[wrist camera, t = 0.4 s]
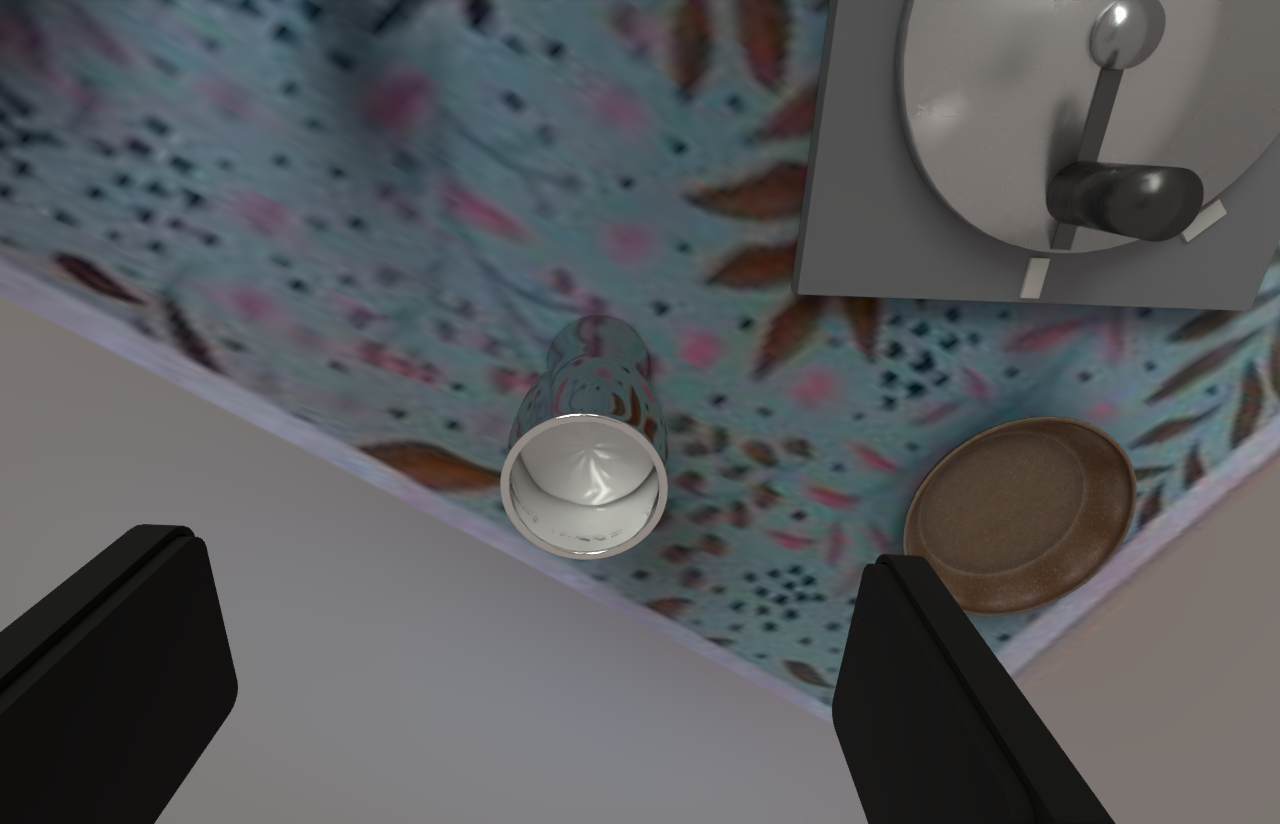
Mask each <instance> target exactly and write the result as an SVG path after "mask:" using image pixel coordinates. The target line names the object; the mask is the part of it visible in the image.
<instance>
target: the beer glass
mask: <svg viewBox="0 0 1280 824" xmlns="http://www.w3.org/2000/svg"><path fill="white" fill-rule="evenodd" d="M648 372H649V357H648V353H647V349H646V347H645V345H644V343H643V341H642V339H641V338H640V336H639V335H638V334H637V333H636V332H635V331H634V330H633V329H632V328H631V327H630V326H628V325H627V324H625V323H623V322H622V321H620V320H617V319H615V318H611V317H607V316H588V317H584V318H580V319H578V320H575V321H573V322H572V323H570V324H568V325H567V326H566V327H564V328H563V329H562V330H561V331H560V332H559V333H558V334H557V336H556V337H555V338H554V340H553V342H552V344H551V346H550V349H549V352H548V357H547V370H546V371H545V372H544V373H543V374H542V375H541V376H540V377H539V378H538V380H537V381H536V382H535V383H534V385H533V386H532V387H531V389H530V390H529V391H528V393H527V394H526V396H525V398H524V399H523V401H522V404H521V406H520V408H519V410H518V412H517V414H516V417H515V420H514V423H513V426H512V429H511V433H510V436H509V441H508V446H507V451H506V456H505V462H504V464H503V468H502V472H501V479H500V490H501V497H502V502H503V505H504V508H505V510H506V513H507V515H508V517H509V518H510V520H511V522H512V523H513V525H514V526H515V527H516V528H517V530H518V531H519V532H520V533H521V534H522V535H523V536H524V537H525V538H527V539H528V540H529V541H530V542H532V543H533V544H535V545H536V546H538V547H540V548H541V549H543V550H545V551H547V552H550V553H552V554H555V555H558V556H562V557H566V558H572V559H583V560H589V559H600V558H606V557H610V556H613V555H616V554H619V553H622V552H624V551H626V550H628V549H630V548H632V547H633V546H635V545H636V544H638V543H639V542H641V541H642V540H643V539H644V538H645V537H646V536H647V535H649V533H650V532H651V531H652V530H653V529H654V528H655V526H656V525H657V523H658V522H659V520H660V518H661V516H662V514H663V512H664V509H665V506H666V502H667V497H668V478H667V476H668V442H667V432H666V427H665V422H664V418H663V414H662V410H661V408H660V405H659V403H658V401H657V399H656V396H655V394H654V392H653V390H652V389H651V387H650V385H649V384H648V382H647V381H646V380H647V377H648Z"/></svg>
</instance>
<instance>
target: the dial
mask: <svg viewBox="0 0 1280 824" xmlns="http://www.w3.org/2000/svg"><path fill="white" fill-rule="evenodd" d="M896 94H897V103H898V111H899V117H900V121H901V125H902V129H903V133H904V137H905V141H906V144H907V146H908V149H909V151H910V153H911V156H912V158H913V161H914V163H915V166H916V167H917V169H918V171H919V172H920V174H921V176H922V177H923V179H924V181H925V182H926V184H927V186H928V187H929V188H930V190H931V191H932V192H933V193H934V195H935V196H936V197H937V198H938V199H939V201H940V202H941V203H942V204H943V205H944V206H945V207H946V208H947V209H948V210H949V211H950V212H952V213H953V214H954V215H955V216H956V217H957V218H958V219H959V220H961V221H962V222H964V223H966V224H967V225H969V226H970V227H972V228H973V229H975V230H977V231H978V232H980V233H982V234H985V235H987V236H989V237H992V238H994V239H996V240H999V241H1001V242H1005V243H1008V244H1012V245H1015V246H1019V247H1023V248H1027V249H1031V250H1035V251H1043V252H1052V253H1083V252H1090V251H1096V250H1102V249H1109V248H1112V247H1116V246H1119V245H1123V244H1126V243H1130V242H1134V241H1136V240H1139V239H1141V240H1146V241H1151V242H1160V241H1165V240H1168V239H1171V238H1173V237H1175V236H1177V235H1179V234H1180V233H1182V232H1183V231H1184V230H1185V229H1187V228H1188V227H1189V226H1190V224H1191V223H1192V222H1193V221H1194V220H1195V218H1196V217H1197V215H1198V213H1199V211H1200V209H1201V207H1202V206H1203V205H1205V204H1206V203H1208V202H1209V201H1211V200H1212V199H1213V198H1214V197H1216V196H1217V195H1218V194H1219V193H1220V192H1222V191H1223V190H1224V189H1225V188H1227V187H1228V186H1229V185H1230V184H1231V183H1233V182H1234V181H1235V180H1236V179H1237V178H1238V177H1239V176H1240V175H1241V174H1242V173H1243V172H1244V171H1245V170H1246V169H1247V168H1248V167H1249V166H1250V165H1251V164H1252V163H1253V162H1254V161H1255V160H1257V159H1258V157H1259V156H1260V155H1261V154H1262V153H1263V152H1264V150H1265V149H1266V148H1267V147H1268V146H1269V144H1270V143H1271V142H1272V141H1273V140H1274V139H1275V137H1276V136H1277V135H1278V134H1279V133H1280V0H905V4H904V8H903V13H902V17H901V21H900V26H899V34H898V42H897V51H896Z"/></svg>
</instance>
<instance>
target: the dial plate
mask: <svg viewBox="0 0 1280 824" xmlns="http://www.w3.org/2000/svg"><path fill="white" fill-rule="evenodd" d="M904 4H905V0H830V2H829V10H828V17H827V25H826V32H825V40H824V47H823V54H822V62H821V69H820V77H819V84H818V92H817V99H816V107H815V114H814V122H813V129H812V137H811V144H810V152H809V159H808V167H807V174H806V181H805V189H804V196H803V204H802V211H801V219H800V226H799V234H798V241H797V249H796V256H795V264H794V271H793V279H792V286H791V289H792V290H793V291H795V292H796V293H797V294H802V295H829V296H856V297H884V298H911V299H939V300H966V301H993V302H1021V303H1048V304H1075V305H1103V306H1130V307H1158V308H1185V309H1212V310H1240V311H1250V309H1251V307H1252V305H1253V302H1254V300H1255V297H1256V295H1257V293H1258V290H1259V288H1260V285H1261V283H1262V281H1263V278H1264V276H1265V273H1266V271H1267V269H1268V266H1269V264H1270V262H1271V259H1272V257H1273V254H1274V252H1275V250H1276V247H1277V245H1278V242H1279V240H1280V133H1279V134H1278V135H1277V136H1276V137H1275V139H1274V140H1273V141H1272V142H1271V143H1270V144H1269V146H1268V147H1267V148H1266V149H1265V150H1264V152H1263V153H1262V154H1261V155H1260V156H1259V157H1258V159H1257V160H1255V161H1254V162H1253V163H1252V164H1251V165H1250V166H1249V167H1248V168H1247V169H1246V170H1245V171H1244V172H1243V173H1242V174H1241V175H1240V176H1239V177H1238V178H1237V179H1236V180H1235V181H1234V182H1233V183H1231V184H1230V185H1229V186H1228V187H1227V188H1225V189H1224V190H1223V191H1222V192H1220V193H1219V194H1218V195H1217V196H1216V197H1214V198H1213V199H1212V200H1211V201H1209V202H1208V203H1206V204H1205V205H1203V206H1202V207H1201V209H1200V211H1199V213H1198V215H1197V217H1196V218H1195V220H1194V221H1193V222H1192V223H1191V224H1190V226H1189V227H1188V228H1187V229H1185V230H1184V231H1183V232H1182V233H1180V234H1179V235H1177V236H1175V237H1173V238H1171V239H1168V240H1165V241H1160V242H1151V241H1146V240H1141V239H1139V240H1136V241H1134V242H1130V243H1126V244H1123V245H1119V246H1116V247H1112V248H1109V249H1102V250H1096V251H1090V252H1083V253H1052V252H1043V251H1035V250H1031V249H1027V248H1023V247H1019V246H1015V245H1012V244H1008V243H1005V242H1001V241H999V240H996V239H994V238H992V237H989V236H987V235H985V234H982V233H980V232H978V231H977V230H975V229H973V228H972V227H970V226H969V225H967V224H966V223H964V222H962V221H961V220H959V219H958V218H957V217H956V216H955V215H954V214H953V213H952V212H950V211H949V210H948V209H947V208H946V207H945V206H944V205H943V204H942V203H941V202H940V201H939V199H938V198H937V197H936V196H935V195H934V193H933V192H932V191H931V190H930V188H929V187H928V186H927V184H926V182H925V181H924V179H923V177H922V176H921V174H920V172H919V171H918V169H917V167H916V166H915V163H914V161H913V158H912V156H911V153H910V151H909V149H908V146H907V144H906V141H905V137H904V133H903V129H902V125H901V121H900V117H899V111H898V103H897V94H896V51H897V42H898V34H899V26H900V21H901V17H902V13H903V8H904Z"/></svg>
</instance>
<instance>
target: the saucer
mask: <svg viewBox="0 0 1280 824" xmlns="http://www.w3.org/2000/svg"><path fill="white" fill-rule="evenodd" d="M1136 496H1137V486H1136V477H1135V473H1134V470H1133V467H1132V464H1131V462H1130V460H1129V458H1128V456H1127V454H1126V453H1125V451H1124V450H1123V448H1122V447H1121V446H1120V445H1119V444H1118V443H1117V442H1116V441H1115V440H1114V439H1113V438H1112V437H1111V436H1110V435H1108V434H1107V433H1106V432H1104V431H1103V430H1101V429H1099V428H1097V427H1095V426H1093V425H1091V424H1088V423H1086V422H1083V421H1080V420H1076V419H1071V418H1064V417H1032V418H1025V419H1019V420H1015V421H1010V422H1006V423H1003V424H1000V425H997V426H994V427H992V428H989V429H987V430H984V431H982V432H980V433H978V434H976V435H974V436H972V437H970V438H969V439H967V440H965V441H964V442H962V443H961V444H959V445H958V446H956V447H955V448H953V449H952V450H951V451H950V452H948V453H947V454H946V455H945V456H944V457H943V458H942V459H940V460H939V461H938V462H937V464H936V465H935V466H934V467H933V468H932V469H931V470H930V472H929V473H928V474H927V476H926V477H925V478H924V480H923V481H922V483H921V485H920V486H919V488H918V490H917V491H916V493H915V495H914V497H913V500H912V502H911V505H910V507H909V510H908V513H907V517H906V521H905V526H904V535H903V549H904V555H917V556H922V557H924V558H925V559H926V560H927V561H928V562H929V564H930V565H931V567H932V568H933V569H934V571H935V572H936V574H937V575H938V576H939V578H940V579H941V581H942V582H943V583H944V585H945V586H946V588H947V589H948V590H949V592H950V593H951V595H952V596H953V597H954V599H955V600H956V602H957V603H958V604H959V606H960V607H961V609H962V610H963V611H964V613H967V614H972V615H980V616H1003V615H1012V614H1018V613H1022V612H1026V611H1030V610H1034V609H1036V608H1039V607H1042V606H1045V605H1047V604H1050V603H1052V602H1054V601H1057V600H1059V599H1061V598H1063V597H1065V596H1066V595H1068V594H1070V593H1071V592H1073V591H1074V590H1076V589H1078V588H1079V587H1081V586H1082V585H1083V584H1085V583H1086V582H1087V581H1089V580H1090V579H1091V578H1092V577H1093V576H1094V575H1095V574H1097V573H1098V572H1099V571H1100V570H1101V569H1102V568H1103V567H1104V566H1105V565H1106V564H1107V562H1108V561H1109V560H1110V559H1111V557H1112V556H1113V555H1114V554H1115V552H1116V551H1117V550H1118V548H1119V546H1120V545H1121V543H1122V541H1123V540H1124V538H1125V536H1126V534H1127V532H1128V530H1129V528H1130V525H1131V522H1132V519H1133V516H1134V512H1135V505H1136Z"/></svg>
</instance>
